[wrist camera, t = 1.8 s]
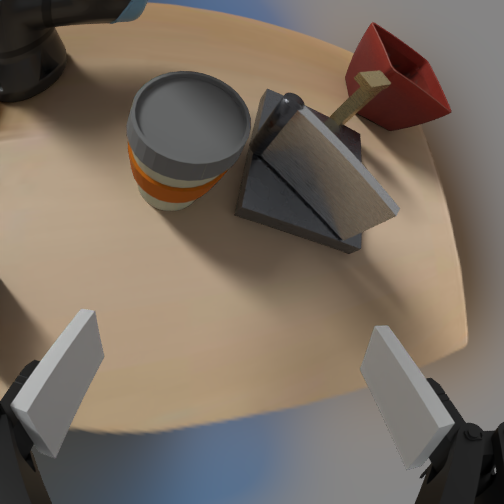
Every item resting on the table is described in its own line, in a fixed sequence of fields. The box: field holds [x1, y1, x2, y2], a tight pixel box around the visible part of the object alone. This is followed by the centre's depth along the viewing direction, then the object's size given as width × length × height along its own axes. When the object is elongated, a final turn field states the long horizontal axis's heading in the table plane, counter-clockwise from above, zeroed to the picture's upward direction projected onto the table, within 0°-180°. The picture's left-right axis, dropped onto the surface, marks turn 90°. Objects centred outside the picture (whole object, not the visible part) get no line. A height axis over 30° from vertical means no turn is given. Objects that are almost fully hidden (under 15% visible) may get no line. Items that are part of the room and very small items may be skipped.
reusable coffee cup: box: [127, 71, 251, 211], centre depth 34 cm, size 12×13×15 cm
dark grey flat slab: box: [235, 89, 362, 254], centre depth 48 cm, size 20×24×3 cm
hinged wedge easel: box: [249, 93, 400, 241], centre depth 39 cm, size 20×3×11 cm, turn 50°
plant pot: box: [345, 22, 451, 131], centre depth 56 cm, size 19×19×17 cm
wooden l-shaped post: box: [329, 70, 391, 126], centre depth 47 cm, size 3×7×16 cm, turn 126°
